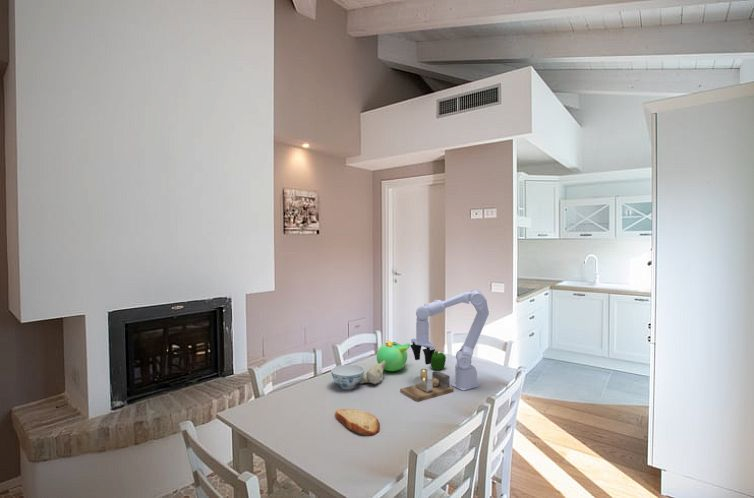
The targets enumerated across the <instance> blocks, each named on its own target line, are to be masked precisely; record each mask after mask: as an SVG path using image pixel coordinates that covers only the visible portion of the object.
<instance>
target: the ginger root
mask: <svg viewBox="0 0 754 498" xmlns="http://www.w3.org/2000/svg"><path fill="white" fill-rule="evenodd" d="M385 364H386V362H385V361H382V362H381V363H380V364H378V363H377V364H376V365H375V364H374V365H372V367H370V368H369V369H368V370H367V371H366V372H365V373H364V374H363V377H362V379H361V381H360V382H359V383H358V384H361V385H363V384H368V383H369V384H370V383H371V384H374V385H377V384H380V382H381V381H382V380H383V379H384V376H383V373H384V369H383V368H384V366H385Z"/></svg>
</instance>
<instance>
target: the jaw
mask: <svg viewBox="0 0 754 498" xmlns="http://www.w3.org/2000/svg"><path fill="white" fill-rule="evenodd" d="M419 372H420V375H419V376H415V381H414V383H415V384H414V385H415V386H416V387H418V388H420V389H422V390H424V391H426V392H430V391H433V381H431V380H432V379H431V380H430V379H428V369H426V368H421V369H420V371H419Z"/></svg>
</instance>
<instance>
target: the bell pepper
mask: <svg viewBox="0 0 754 498" xmlns="http://www.w3.org/2000/svg"><path fill="white" fill-rule="evenodd" d="M446 358H447V357H446V355H445V353H443V352H439V350H436V349H435V352H434V353H433V355H432V358H431V362H430V364H429V365H430V367H431V369H433V371H441V370H443V369H444V368H445V366H446Z"/></svg>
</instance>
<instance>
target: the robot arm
mask: <svg viewBox="0 0 754 498" xmlns="http://www.w3.org/2000/svg"><path fill="white" fill-rule="evenodd" d="M461 303H463V304H467V305H469V304H471V305H472V306H473V307H474V309H475V311H476V314H475V317H474V319H473V321H472V324H471V326H470V328H469V331H468V333H467V335H466V338H465V340H464V342H463V344H462V345H461V348H459V350H458V351H456V353H455V360H456V364H455V367H454V368H455V370H454V371H455V375H454V377H455V378H454V381H455V382H454V383H451V386H452V387H453V388H454V387H455V388H457V389H459V390H461V391H462V392H463V391H467V390H471V389H475V388H478V387H479V385H478V371H477V369H476V366H474V365H472V358H473V355H474V349H475V348H476V345H477V343H478V340H479V338H480V335H481V333H482V331H483V328H484V326H485V324H486V322H487V319H488V317H489V314H490V313H489V312H490V311H489V308H488V301H487V298H486V297H485V296H484V294H483V293H482V292H481V291H480V290H479V289H472V290H469V291H465V292H462V293H459V294H457V295H455V296H452V297H449V298H447V299H445V300H441V299H434V300H433V302H429V303H428V304H427V303H424V304H423V305H420V306H418V307H417V308H416V311H415V316H416V318H415V319H416V323H415V325H416V326H415V330H416V331H415V333H416V334H415V338H411V339H410V341H411V343H410V346H409V347H410V348H411V350H412V353H413V356H414V359H415V361H420V359H421V349H422V352H423V354H424V363H425V365H427V366H429V365H431V364H430V362H431V358H432V355H433V353H434V352H435V351H436V349H435V345H434V344H433V343H431V342H430V339H429V338H430V333H429V332H430V330H429V329H430V323H429V317H433V316H436V315H439V314H441V313H444V312H445V310H446V309H447V308H449V307H452V306H455V305H458V304H461Z"/></svg>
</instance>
